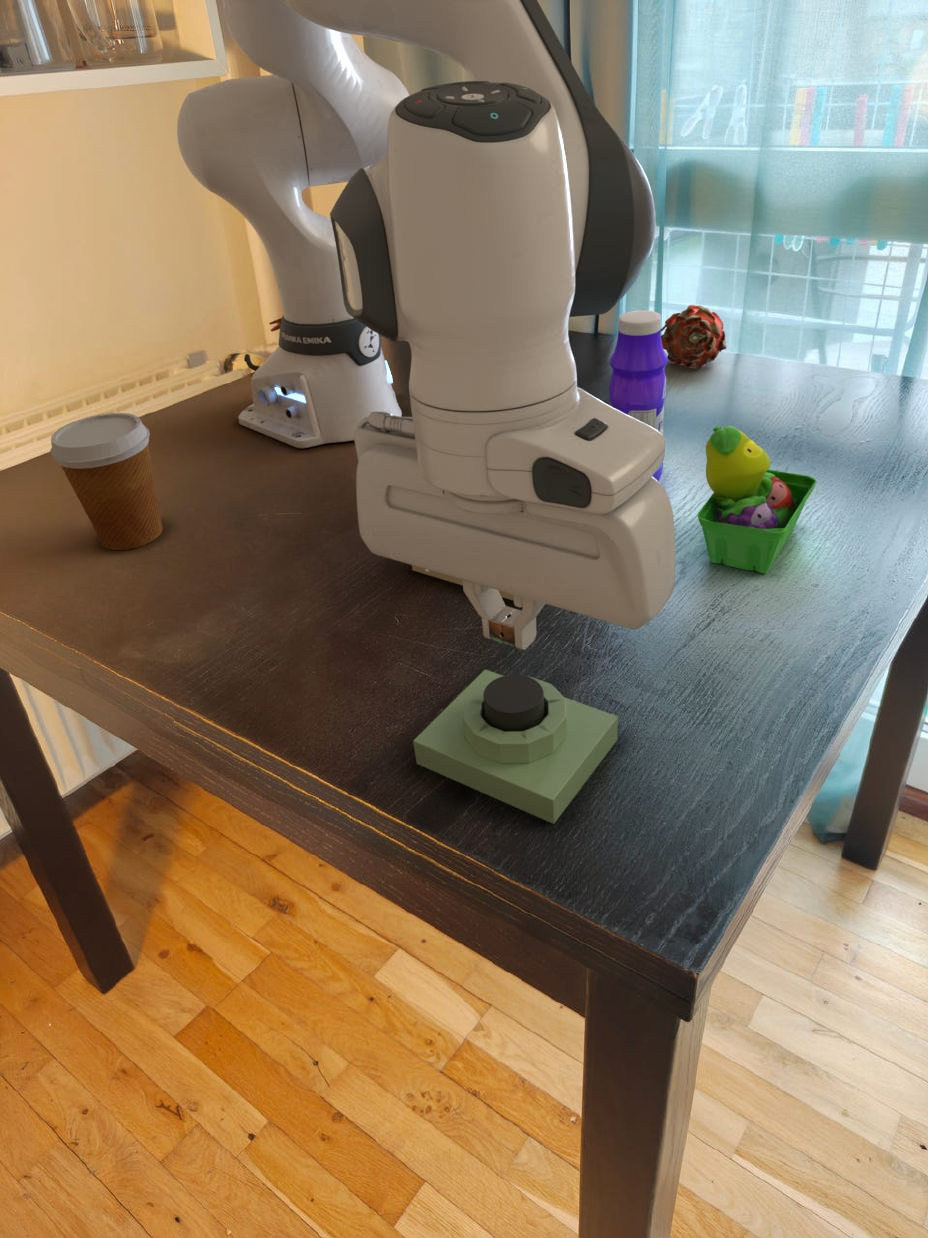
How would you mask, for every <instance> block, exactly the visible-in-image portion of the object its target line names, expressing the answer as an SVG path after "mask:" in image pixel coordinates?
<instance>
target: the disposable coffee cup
mask: <svg viewBox="0 0 928 1238" xmlns="http://www.w3.org/2000/svg"><path fill="white" fill-rule="evenodd" d="M150 433H151V432H150V429H149V428H148V427H147V426H145V425H144V423H143V422H142V420H141V419H140V417H139V416H137V415H136V414H132V413H129V412H111V413H110V412H109V413H102V414H96V415H95V414H94V415H91V416H88V417H84V418H81V419H78V420H75V421H72V422H69V423H67V424H65V425H64V426H62V427H60V428H58V429H57V430H56V431H54V433H53V434H52V435H51V436H50V443H51V448H50V450H49V453H50V457H51V458H52V459H54V460H55V461H56V463H57V464H58V465H59V466H60V467H61V469H62V471H63V473H64V474H65V476H66V478H67V481H68V482H69V484H70V486H71V487H72V489H73V491H74V493H75V495H76V497H77V499H78V500H79V502H80V504H81V507H82V508H83V510H84V512H85V514H86V516H87V517H88V519H89V521H90V523H91V525H92V527H93V529H94V531H95V532H96V534H97V536H98V538H99V540H100V542H101V545H102V546H103V547H104V548H106V549H108V550H114V551H125V550H131V549H136V548H140V547H142V546H144V545H147V544H149V543H151V542H153V541H155V540H156V539H157V538H159V536H160V535H161V534H162V532H163V525H162V519H161V513H160V508H159V507H160V505H159V501H158V495H157V489H156V484H155V478H154V472H153V467H152V460H151V454H150V448H149V442H150V439H149V438H150V435H151V434H150Z"/></svg>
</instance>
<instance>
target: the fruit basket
mask: <svg viewBox="0 0 928 1238" xmlns="http://www.w3.org/2000/svg"><path fill="white" fill-rule="evenodd" d="M712 431H713V433H712V434H711V435H710V437H709V439H708V440H707V442H706V444H705V454H706V465H705V478H706V482H707V484H708V487H709V488H710V490H711V491H712V492H713V493H712V494H711V496H710V497H709V498H708V500H707V501H706V502H705V503H704V505H702V507H701V509H700V510H699V511H698V513H697V519H698V522H699V525H700V526H701V528H702V531H703V532H702V533H703V537H704V542H705V545H706V549H707V555H708V558H709V562H710V563H712V564H722V565H724V566H727V567H731V568H736V569H740V570H746V571H755V572H757V573H759V574H764V575H765V574H767V573H768V572H769V571H770V569H771V567H772V566H773V563H774V561H775V560H776V559H777V557H778V556H779V554H780V552H781V550H782V548H783V547H784V546H785V544H786V542H787V541H788V539H789V536H790V535H791V534H792V533H793V531H794V529H795V528H796V525H797V522H798V520H799V519H800V516H801V514H802V511H803V509H804V507H805V505H806V503H807V500H808V499H809V497H810V496H811V494H812V492H813V491H814V489H815V487H816V484H817V482H818V480H817V479H816V478H815V477H813V476H811V475H807V474H799V473H795V472H794V473H793V472H789V471H788V472H786V471H781V470H775V469H770V468H771V460H770V457H769V455H768V454H767V452H766V451H765V450H764V449H763V448H762V447H761V446H759V444H758V443H756V442H755V441H754V440H753V439H751V438H749V437H748V436H747V435H746V434H745V433H744V432H743V431H741V430H739V429H738V428H737V427H735V426H733V425H726V426H723V427H722V426H721V425H717V426H715V427H714V428H712Z"/></svg>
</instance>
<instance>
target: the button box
mask: <svg viewBox="0 0 928 1238" xmlns="http://www.w3.org/2000/svg"><path fill="white" fill-rule="evenodd" d="M502 676H503V675H502V674H499V673H496V672H493V671H491V670H489V669H483V671H482V672H480V674H479V675H478V676H477V677H476V678H475V679H474V680H473V681H472V682H470V684H469V685H468V686H467V687H466V688H464V690H462V691H461V692H460V693H459V695H458V696H457V697H456V698H454V699H453V700H452V702H450V703H449V704H448V706H446V707H445V708H444V710H442V712H441V713H439V714H438V716H437V717H435V718H434V719H433V720H432V721H431V722H430V723H429V725H427V726H426V727H425V729H423V730H422V732H420V733H419V734H418V735H417V736H416V737H415V738H414V739H413V741H412V743H413V748H414V755H415V756H414V757H415V763H416V764H417V765H418V766H421V767H423V768H425V769H427V770H430V771H433V772H435V773H437V774H439V775H441V776H443V777H445V778H448V779H451V780H453V781H454V782H457V783H458V784H459V783H460V784H462V785H464V786H466V787H469V788H471V789H472V790H475V791H478V792H480V793H483V794H485V795H487V796H489V797H491V798H494V799H496V800H498V801H501V802H503V803H505V804H508V805H509V806H512V807H514V808H516V809H519V810H521V811H523V812H526V813H528V814H530V815H532V816H534V817H537V818H539V819H541V820H543V821H546V822H548V823H550V824H553V825H554V824H555V823H556V822H557V821H558V819H559V818H560V817H561V815H562V814H563V813H564V812H565V810H566V809H567V807H568V806H569V805H570V804H571V802H572V801H573V800H574V798H575V797H576V795H578V793H579V792H580V790H581V789H582V788H583V786H584V785H585V783H586V782H587V781H588V780H589V778H591V775H592V774H593V773H594V772H595V770H596V769H597V767H599V765H600V764H601V762H602V761H603V760H604V758H606V756H607V754H609V752H610V750H611V749H612V748H613V747H614V745H615V743H617V741H618V735H619V734H618V733H619V730H618V729H619V726H618V725H619V716H618V715H616V714H612V713H610V712H606V711H603V710H602V709H598V708H595V707H592V706H590V705H587V704H583V703H581V702H579V701H576V700H573V699H570V698H567V697H564V695H562V694H561V692H560V691H558V689H557V688H556V687H555V686H554V685H553V684H551V683H549V682H546V681H544V680H542V679H541V680H540V679H537V678H536V677H532V676H529V677H530V678H533V679H534V680H536V681H537V682H538V683H539V684H540V685H541V686H542V688H543V692H544V717H543V719H542V721H541V722H540V723H539V724H538V725H537V726H535V727H533V728H530V729H528V730H525V731H520V732H504V731H502V730H499V729H496V728H494V727H492V726H491V725H490V724H489V723H488V721H487V720H486V717H485V708H484V697H483V694H484V690H485V688H486V687H487V685H488V684H489V683H490V682H492V681H493V680H495V679H497V678H499V677H502Z"/></svg>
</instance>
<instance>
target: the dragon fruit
mask: <svg viewBox="0 0 928 1238" xmlns="http://www.w3.org/2000/svg"><path fill="white" fill-rule="evenodd" d="M663 331H664V332H663ZM661 332H663V334H661V340H662V347H663V350H664V351H666V354H667V355H666V356H667V358H668V362H670V363H671V364H673V365H674V366H679V365H683V366H684V367H685V368H688V369H693V370H699V369H702V368H703V367H704V366H705V365H708V364H711V363H712V362H714V361H715V360H716V359H717V357H718V356H719V353H720V352H722V351H723V350H726V349H727V338H726V337H727V336H726V332H725V330H724V321H723V320H722V318H721V317H720V315H718V313H717V312H715V311H711V310H710V309H709V308H707V307H704V306H703V305H696V304H689V305H688V306H687V308H686V309H685V310H683V311H681V312H676V313H672V314H671V315H670V316H669V317H668V318H667V319H666V320H665V321H664V325H663V326H661Z"/></svg>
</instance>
